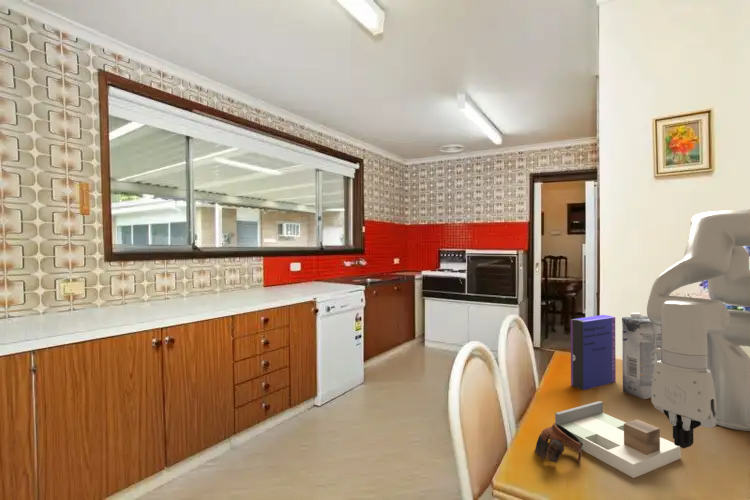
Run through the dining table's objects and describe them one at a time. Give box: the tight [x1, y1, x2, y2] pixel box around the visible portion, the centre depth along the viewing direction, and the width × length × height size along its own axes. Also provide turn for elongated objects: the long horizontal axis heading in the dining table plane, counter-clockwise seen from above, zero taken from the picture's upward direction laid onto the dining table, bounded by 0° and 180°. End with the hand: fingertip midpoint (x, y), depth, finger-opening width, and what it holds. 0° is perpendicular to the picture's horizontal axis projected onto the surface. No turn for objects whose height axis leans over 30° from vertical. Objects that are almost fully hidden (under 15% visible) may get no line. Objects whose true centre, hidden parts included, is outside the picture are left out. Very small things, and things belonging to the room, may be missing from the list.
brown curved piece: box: [534, 423, 583, 463], centre depth 88 cm, size 12×10×8 cm
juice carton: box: [621, 312, 661, 400], centre depth 125 cm, size 9×10×27 cm
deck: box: [554, 400, 682, 479], centre depth 93 cm, size 20×18×6 cm
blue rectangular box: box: [570, 314, 617, 391], centre depth 134 cm, size 17×5×24 cm, turn 115°
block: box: [624, 419, 661, 455], centre depth 87 cm, size 5×5×5 cm
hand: (682, 445), depth 79 cm, fingers closed
